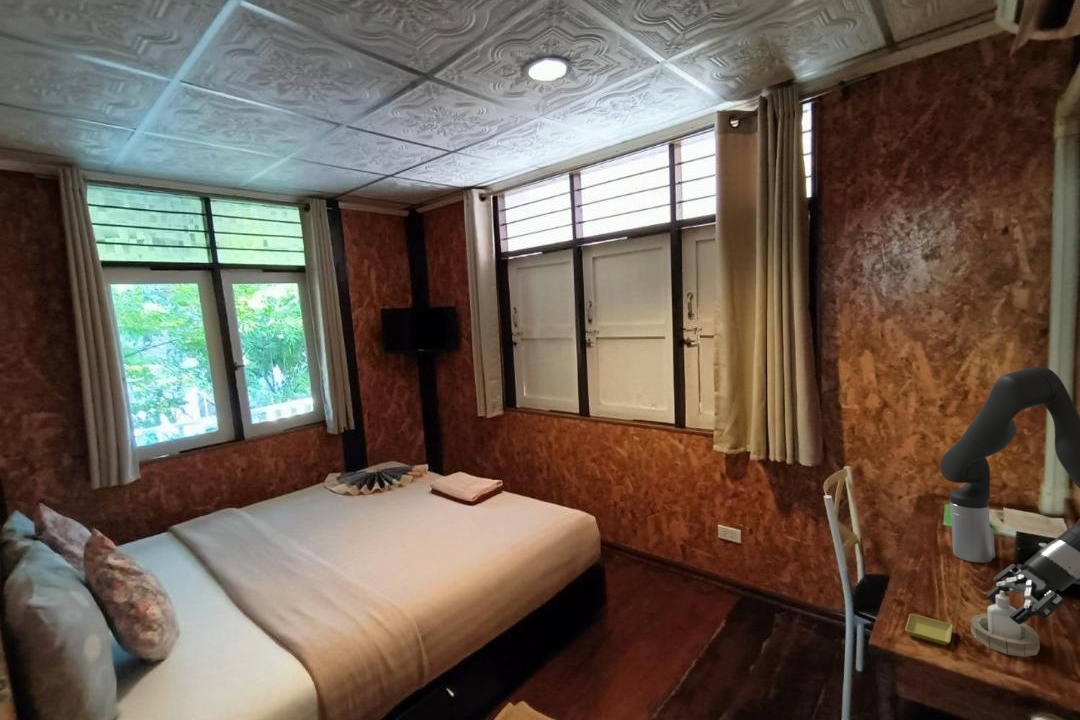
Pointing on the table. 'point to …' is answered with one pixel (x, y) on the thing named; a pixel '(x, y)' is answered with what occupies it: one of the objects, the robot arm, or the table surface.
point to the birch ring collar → (1004, 645)
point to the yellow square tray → (929, 629)
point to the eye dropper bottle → (1003, 619)
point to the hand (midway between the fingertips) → (1001, 610)
